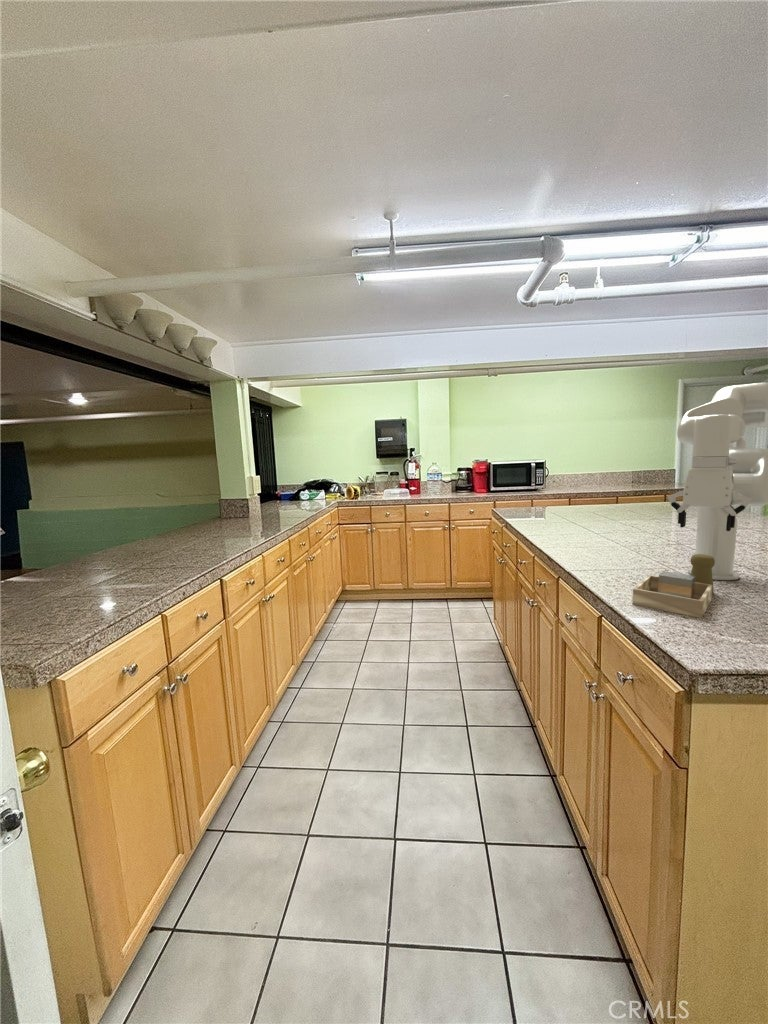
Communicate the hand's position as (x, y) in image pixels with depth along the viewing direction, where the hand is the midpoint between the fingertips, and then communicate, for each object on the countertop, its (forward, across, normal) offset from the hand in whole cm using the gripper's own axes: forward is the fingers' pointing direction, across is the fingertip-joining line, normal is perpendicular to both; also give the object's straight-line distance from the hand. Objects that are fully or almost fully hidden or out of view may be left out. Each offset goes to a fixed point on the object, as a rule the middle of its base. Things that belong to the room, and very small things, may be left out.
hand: (704, 528), depth 108 cm
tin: (+17, +4, +9) cm, 20 cm away
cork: (+18, 0, 0) cm, 18 cm away
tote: (+18, +4, +13) cm, 23 cm away
